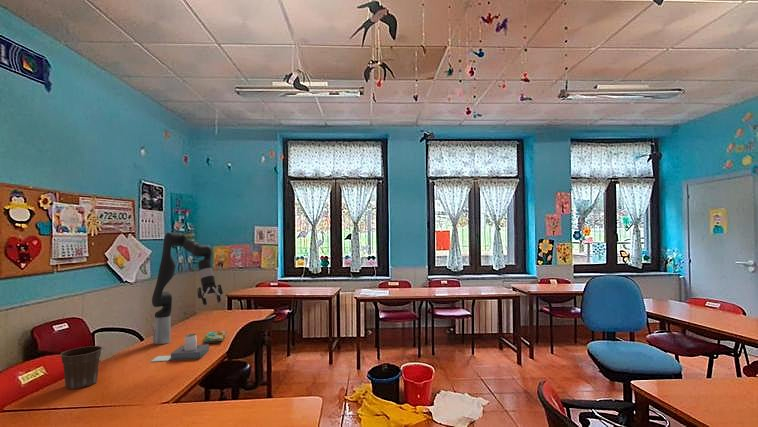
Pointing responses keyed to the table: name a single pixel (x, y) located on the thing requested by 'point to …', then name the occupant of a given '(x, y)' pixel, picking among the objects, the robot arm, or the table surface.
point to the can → (190, 342)
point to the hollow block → (189, 353)
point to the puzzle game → (214, 337)
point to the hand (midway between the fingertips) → (212, 303)
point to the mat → (161, 358)
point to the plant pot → (81, 366)
